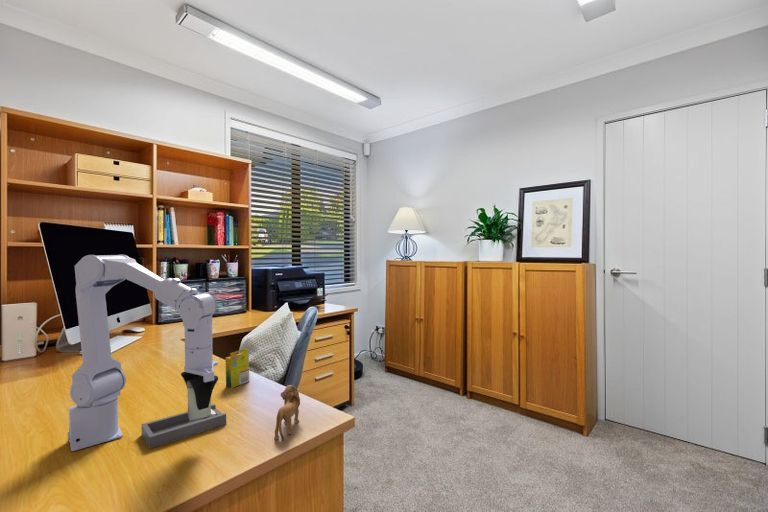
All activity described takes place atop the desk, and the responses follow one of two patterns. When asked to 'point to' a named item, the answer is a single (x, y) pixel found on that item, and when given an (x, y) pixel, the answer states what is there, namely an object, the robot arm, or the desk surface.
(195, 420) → the pusher
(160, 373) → the desk surface
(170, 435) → the pusher lane
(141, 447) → the desk surface
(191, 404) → the jar
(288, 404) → the lion figurine
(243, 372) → the crayon box
